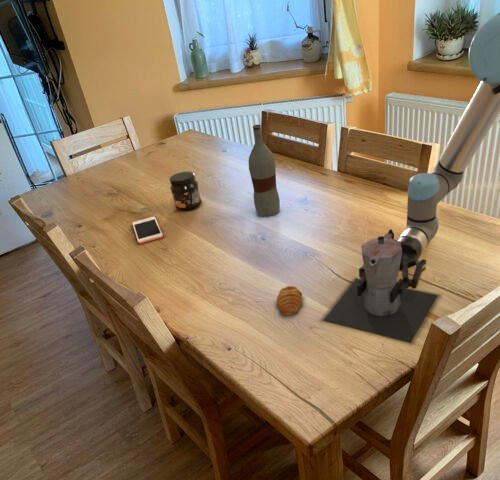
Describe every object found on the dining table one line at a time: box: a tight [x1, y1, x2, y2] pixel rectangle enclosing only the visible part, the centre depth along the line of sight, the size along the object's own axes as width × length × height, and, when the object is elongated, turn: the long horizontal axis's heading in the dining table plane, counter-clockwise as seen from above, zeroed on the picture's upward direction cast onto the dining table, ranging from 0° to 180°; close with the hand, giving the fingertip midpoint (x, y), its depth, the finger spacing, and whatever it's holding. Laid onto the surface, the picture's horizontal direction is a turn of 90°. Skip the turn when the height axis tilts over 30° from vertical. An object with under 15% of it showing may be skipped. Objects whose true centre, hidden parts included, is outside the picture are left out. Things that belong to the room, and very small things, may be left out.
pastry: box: [276, 285, 303, 316], centre depth 130 cm, size 9×7×4 cm
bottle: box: [248, 124, 281, 218], centre depth 169 cm, size 9×9×30 cm
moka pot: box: [360, 228, 402, 316], centre depth 119 cm, size 10×15×20 cm, turn 154°
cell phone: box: [132, 216, 164, 245], centre depth 180 cm, size 9×18×1 cm, turn 18°
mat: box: [323, 278, 439, 344], centre depth 124 cm, size 22×20×1 cm
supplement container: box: [169, 171, 202, 212], centre depth 189 cm, size 10×10×12 cm
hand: (374, 294), depth 118 cm, fingers closed on moka pot, 7 cm apart
